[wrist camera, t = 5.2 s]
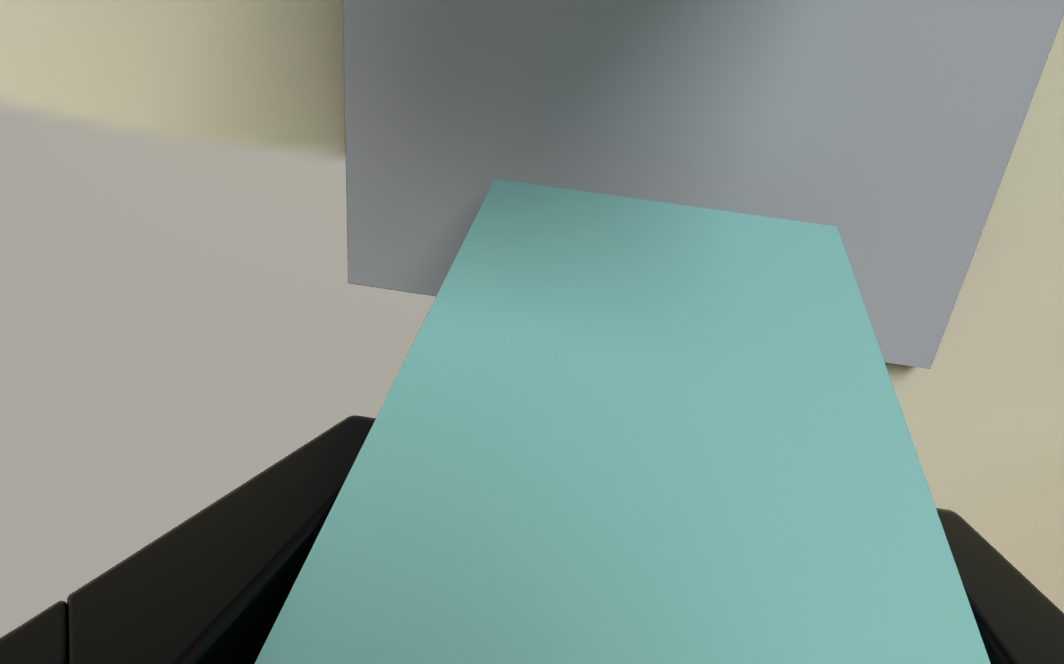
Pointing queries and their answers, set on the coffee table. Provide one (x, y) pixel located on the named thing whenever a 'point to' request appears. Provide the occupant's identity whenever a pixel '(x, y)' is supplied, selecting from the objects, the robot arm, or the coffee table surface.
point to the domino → (635, 460)
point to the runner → (697, 125)
